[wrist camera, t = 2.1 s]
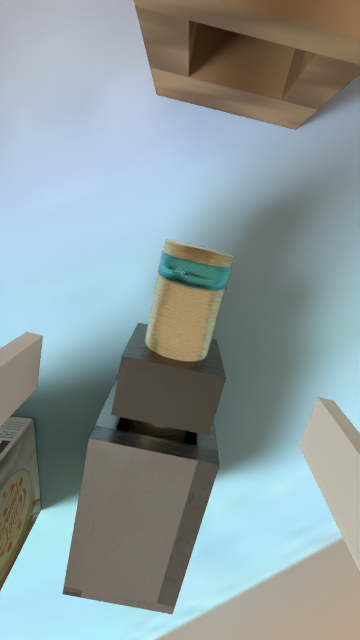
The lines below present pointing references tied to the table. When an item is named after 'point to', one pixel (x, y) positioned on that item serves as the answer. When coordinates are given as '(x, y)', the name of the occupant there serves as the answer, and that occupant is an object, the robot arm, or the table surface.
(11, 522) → the coffee box
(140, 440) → the sleeve
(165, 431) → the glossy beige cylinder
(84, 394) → the table surface
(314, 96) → the tan box
